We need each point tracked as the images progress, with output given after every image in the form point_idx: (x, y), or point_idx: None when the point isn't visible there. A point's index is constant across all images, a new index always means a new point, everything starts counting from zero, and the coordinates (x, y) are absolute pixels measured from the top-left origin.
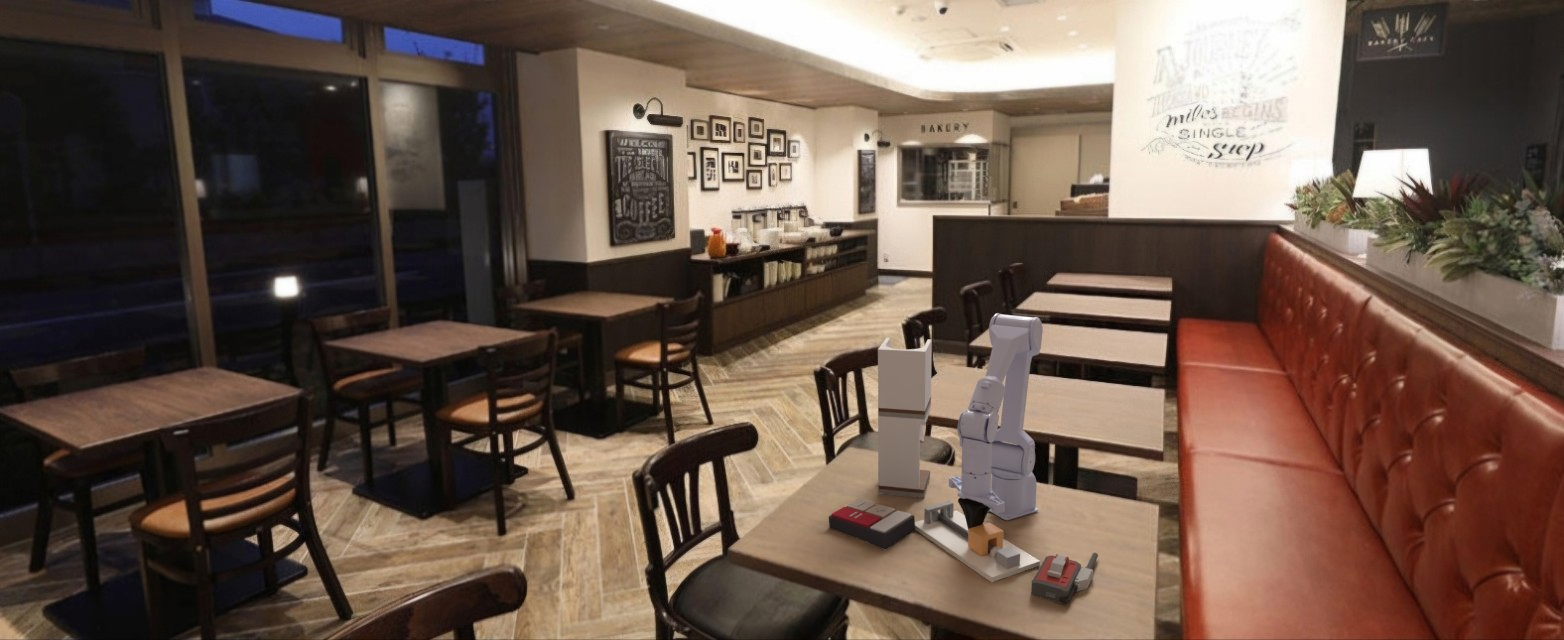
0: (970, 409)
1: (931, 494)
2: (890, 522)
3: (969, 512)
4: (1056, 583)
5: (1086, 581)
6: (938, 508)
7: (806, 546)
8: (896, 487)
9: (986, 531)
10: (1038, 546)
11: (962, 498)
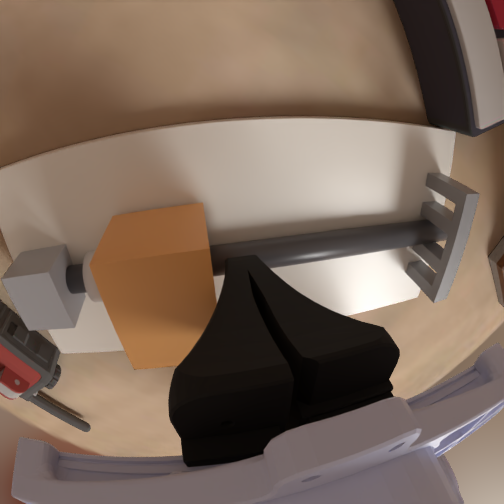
0: None
1: (482, 279)
2: (471, 16)
3: (243, 334)
4: None
5: None
6: (450, 241)
7: None
8: None
9: (143, 314)
10: (161, 383)
11: (377, 374)
